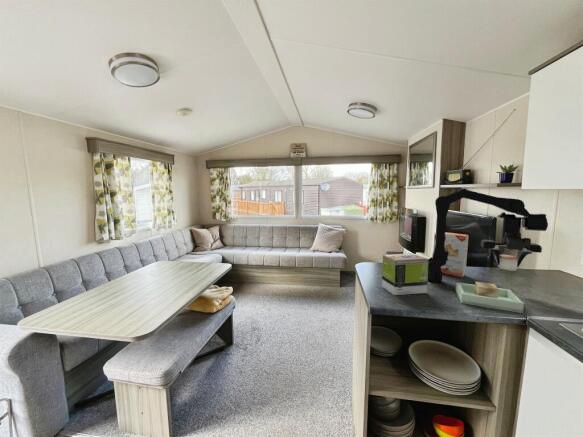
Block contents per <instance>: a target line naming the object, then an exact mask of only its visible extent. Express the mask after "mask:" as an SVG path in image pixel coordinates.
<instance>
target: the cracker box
mask: <svg viewBox="0 0 583 437" xmlns="http://www.w3.org/2000/svg"><path fill="white" fill-rule="evenodd" d="M433 238H434V239H433V250H434V247H435V242H436V231H435V232H434V237H433ZM444 247H445V250H448V252H449V254H448V261H447V262H446V264H445V265H444V266H442V267H441V271H442V272H443V273H442V274H445V275H448V276H449V275H450V276H452V277H453V276H454V277H458V278H464V276H465V275H466V272H467V271H466V268H467V258H468V247H469V234H463V233H462V234H461V233H454V232H446V231H445V245H444ZM433 250H432V251H433Z"/></svg>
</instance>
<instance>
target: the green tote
mask: <svg viewBox="0 0 583 437" xmlns="http://www.w3.org/2000/svg"><path fill="white" fill-rule="evenodd" d="M497 288H498V289H499V291H498V298H492V297H485V296H479V295H475V294H474V292H475V284H470V283H463V282H455V292H456V295H457V297H458V300H459V302H460V303H461V304H465V305H471V306H478V307H483V308H488V309H489V308H490V309H495V310H500V311H501V310H502V311H507V312H515V313H520V314H524V306H525V303H524V302H523V301H522V300H521V299H520V298H519V297H518V296H517V295H516V294H515V293H514V292H513V291H512V290H511V289H507V288H499V287H497Z"/></svg>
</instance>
